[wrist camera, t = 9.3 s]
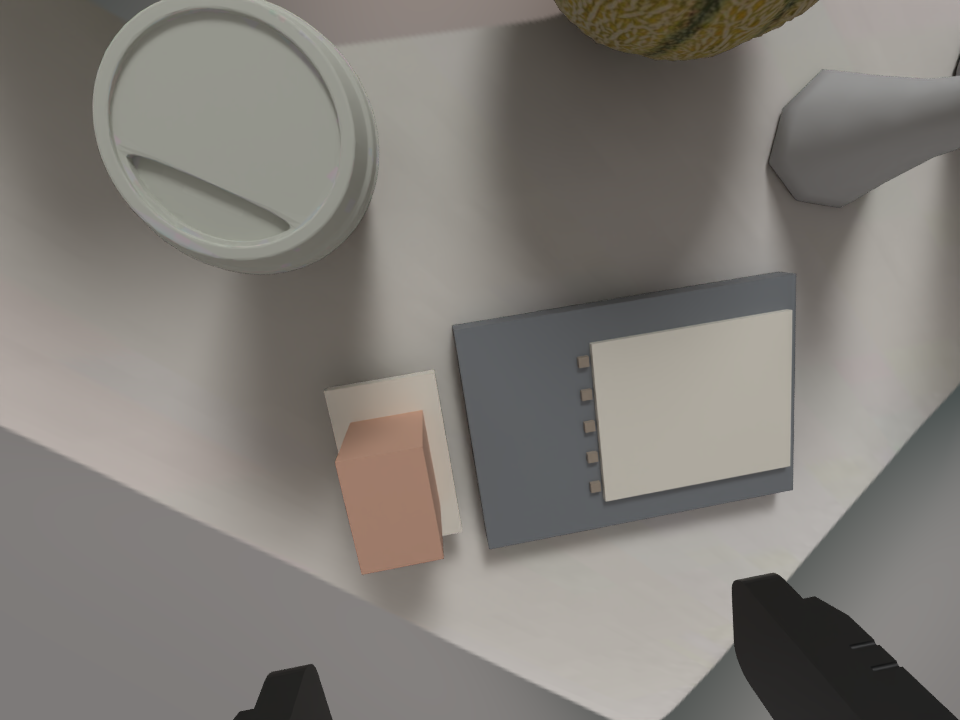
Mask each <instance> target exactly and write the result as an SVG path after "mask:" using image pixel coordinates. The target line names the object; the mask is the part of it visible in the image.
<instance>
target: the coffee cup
mask: <svg viewBox="0 0 960 720" xmlns="http://www.w3.org/2000/svg"><path fill="white" fill-rule="evenodd" d="M92 107H93V125H94V133H95V137H96V142H97V146H98V149H99V152H100V155H101V158H102V161H103V163H104V166H105V168H106V170H107V173H108V174H109V176H110V178H111V180H112V182H113V183H114V185H115V187H116V189H117V190H118V192H119V193H120V194H121V196H122V197H123V199H124V200H125V201H126V202H127V204H128V205H129V206H130V207H131V209H132V210H133V211H134V212H135V213H136V214H137V215H138V216H139V217H140V218H141V219H142V220H143V221H144V222H145V223H146V224H147V225H148V226H149V227H150V228H151V229H152V230H153V231H154V232H155V233H156V234H157V235H159V236H160V237H161V238H162V239H164V240H165V241H166V242H167V243H169V244H170V245H172V246H173V247H175V248H176V249H178V250H179V251H181V252H183V253H184V254H186V255H188V256H190V257H192V258H194V259H196V260H198V261H201V262H203V263H206V264H208V265H212V266H215V267H218V268H221V269H225V270H228V271H233V272H238V273H245V274H258V275H265V274H277V273H284V272H289V271H293V270H296V269H299V268H302V267H305V266H308V265H310V264H312V263H314V262H316V261H318V260H320V259H322V258H323V257H325V256H327V255H328V254H329V253H331V252H332V251H334V250H335V249H336V248H337V247H338V246H340V245H341V244H342V243H343V242H344V241H345V240H346V239H347V238H348V237H349V236H350V234H351V233H352V232H353V231H354V229H355V228H356V227H357V225H358V224H359V222H360V221H361V219H362V217H363V216H364V214H365V212H366V210H367V208H368V206H369V203H370V201H371V198H372V195H373V192H374V189H375V185H376V180H377V175H378V166H379V140H378V132H377V126H376V122H375V117H374V114H373V110H372V107H371V104H370V101H369V99H368V96H367V94H366V92H365V90H364V88H363V85H362V84H361V82H360V80H359V78H358V76H357V75H356V73H355V71H354V70H353V68H352V67H351V65H350V64H349V63H348V61H347V60H346V59H345V57H344V56H343V55H342V54H341V52H340V51H339V50H338V49H337V48H336V47H335V46H334V45H333V44H332V43H331V42H330V41H329V40H328V39H327V38H326V37H325V36H324V35H322V34H321V33H320V32H319V31H317V30H316V29H315V28H314V27H312V26H311V25H310V24H308V23H307V22H305V21H304V20H303V19H301V18H300V17H298V16H296V15H295V14H293V13H291V12H290V11H288V10H286V9H284V8H282V7H280V6H277V5H275V4H273V3H271V2H268V1H265V0H161V1H159V2H156V3H154V4H152V5H150V6H149V7H147V8H145V9H144V10H142V11H140V12H139V13H138V14H137V15H135V16H134V17H133V18H132V19H131V20H130V21H128V22H127V23H126V24H125V25H124V26H123V27H122V29H121V30H120V31H119V32H118V33H117V35H116V36H115V37H114V38H113V40H112V42H111V43H110V45H109V47H108V48H107V50H106V52H105V54H104V56H103V59H102V61H101V64H100V66H99V69H98V72H97V76H96V80H95V85H94V92H93V101H92Z"/></svg>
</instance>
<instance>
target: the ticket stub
mask: <svg viewBox="0 0 960 720" xmlns="http://www.w3.org/2000/svg"><path fill="white" fill-rule="evenodd" d="M324 395H325V399H326V403H327V407H328V412H329V416H330V420H331V424H332V428H333V433H334V437H335V441H336V445H337V450H338V456H337V458H336V461H335V465H336V469H337V473H338V477H339V482H340V486H341V490H342V494H343V498H344V502H345V507H346V511H347V515H348V519H349V523H350V527H351V532H352V536H353V540H354V544H355V548H356V552H357V556H358V561H359V565H360V569H361V573H362V575H364V574H369V573H374V572H379V571H384V570H389V569H394V568H399V567H404V566H409V565H415V564H420V563H425V562H430V561H435V560H440V559H444V554H443V538H442V536H445V535H450V534H456V533H461V532H462V525H461V519H460V513H459V508H458V502H457V496H456V491H455V485H454V479H453V474H452V468H451V462H450V457H449V451H448V445H447V440H446V434H445V428H444V422H443V417H442V411H441V405H440V400H439V394H438V388H437V383H436V377H435V371H434V370H429V371H423V372H418V373H412V374H406V375H400V376H394V377H388V378H382V379H376V380H371V381H365V382H359V383H353V384H347V385H341V386H335V387H329V388H326V389H325V390H324Z"/></svg>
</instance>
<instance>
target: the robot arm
mask: <svg viewBox="0 0 960 720" xmlns="http://www.w3.org/2000/svg"><path fill="white" fill-rule="evenodd" d="M956 76H960V61H959V64H958V67H957V72H956ZM732 607H733V630H734V647H735V652H736V656H737V659H738V662H739V664H740V667H741V669H742V671H743V673H744V676H745V677H746V679H747V681H748V682H749V684H750V686H751V687H752V688H753V690H754V691H755V693H756V694H757V695H758V697H759V699H760V700H761V702H762V703H763V705H764V706H765V708H766V709H767V710H768V712H769V713H770V715H771V716H772V718H773V719H774V720H958V719H957V718H956V717H955V716H954V715H953V714H952V713H951V712H950V711H949V710H948V709H947V708H946V707H945V706H943V705H942V704H941V703H940V702H939V701H938V700H937V699H936V698H935V697H934V696H933V695H932V694H931V693H930V692H929V691H928V690H926V689H925V688H924V687H923V686H922V685H921V684H920V683H919V682H918V681H917V680H916V679H915V678H914V677H913V676H912V675H911V674H910V673H909V672H908V671H906V670H905V669H904V668H903V667H899V666H898V664H897V661H896V660H895V659H894V658H893V657H892V656H891V655H889V654H888V653H887V652H886V651H885V650H884V649H883V648H882V647H881V646H880V645H876V644H875V642H874V639H873V638H872V637H871V636H869V635H868V634H867V633H866V632H865V631H864V630H863V629H862V628H861V627H860V626H859V625H858V624H857V623H856V622H855V621H854V620H853V619H851V618H850V617H849V616H848V615H847V614H845V613H843V612H841V611H840V610H838V609H836V608H834V607H833V606H831V605H829V604H827V603H826V602H824V601H822V600H820V599H819V598H817V597H810V598H805V599H803V598H802V597H801V596H800V595H799V594H798V593H797V592H796V591H795V590H794V589H793V588H792V587H791V586H790V585H789V584H788V583H787V582H786V581H785V580H784V579H783V578H782V577H781V576H779V575H778V574H776V573H769V574H764V575H759V576H754V577H749V578H744V579H739V580H735V581H734V582H733V584H732ZM233 720H332V717H331V714H330V710H329V707H328V704H327V701H326V698H325V694H324V691H323V688H322V685H321V682H320V679H319V675H318V672H317V670H316V668H315V666H314V665H312V664H309V665H304V666H299V667H294V668H289V669H284V670H279V671H274V672H271V673H270V674H269V675H268V676H267V678H266V680H265V682H264V684H263V687H262V689H261V692H260V695H259V697H258V700H257V703H256V705H255V708H254V709H250V710H246V711H240V712H239V713H238V714H237V716H236V717H235V718H234V719H233Z"/></svg>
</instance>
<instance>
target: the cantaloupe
mask: <svg viewBox="0 0 960 720" xmlns="http://www.w3.org/2000/svg"><path fill="white" fill-rule="evenodd" d="M554 1H555V3H556V5H557V6H558V8H559V10H560V11H561V12H562V13H564V14H565V16H566V17H567V18H568V20H569V21H571V22H572V23H573V24H575V25H576V26H578V28H579V29H580V30H581V31H582V32H583V33H584V34H585V35H587V36H590V37H591V38H592V39H593V40H594V41H595V42H596V44H603V45H605V46H607V47H609V48H612V49H614V50H617V51H621V52H624V53H631V54H639V55H642V56H644V57H648V58H651V59H654V60H670V61H676V60H683V61H684V60H692V59H699V58H706V57H713V56H715V55H717V54H720V53H722V52H725V51H727V50H730V49H732V48H734V47H736V46H737V45H739V44H741V43H744V42H746V41H749V40H751V39H752V38H756V37H760V36H762V35H763V34H765V33H767V32H769V31H771V30H774V29H776V28H779V27H781V26H782V25H783V24H784V23H785V22H786V21H791V20H792V19H793V18H794V17H797V16H799V15H801V14H803V13H804V12H805V11H807V10H808V9H809V8H810V7H812V6H813V5H814V4H815V3H816V2H818V1H819V0H554Z"/></svg>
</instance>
